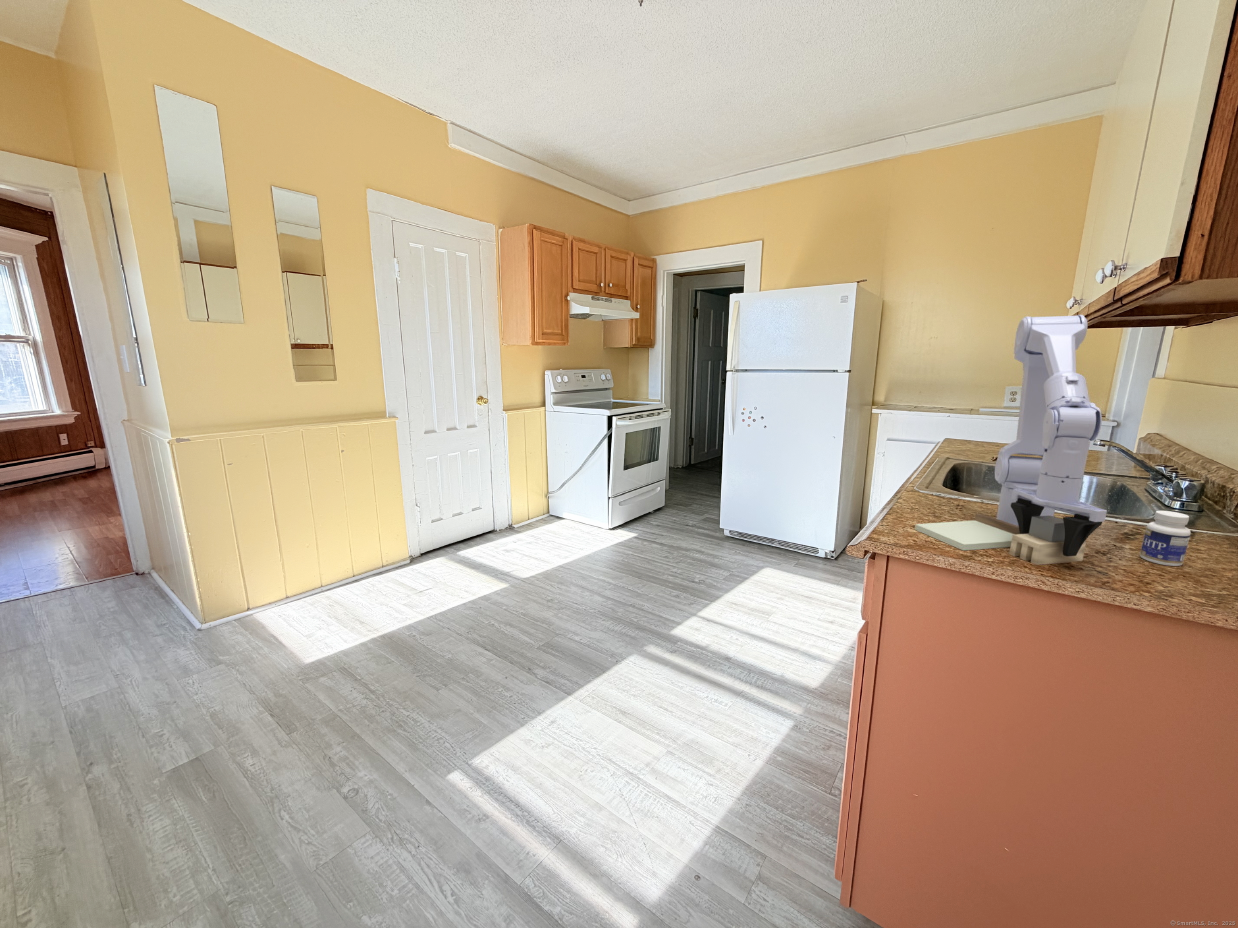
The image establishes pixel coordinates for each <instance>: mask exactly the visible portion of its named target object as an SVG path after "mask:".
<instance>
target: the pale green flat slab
mask: <svg viewBox="0 0 1238 928" xmlns="http://www.w3.org/2000/svg"><path fill="white" fill-rule="evenodd" d="M974 517H975V518H974V520H959V521H944V522H928V523H927V522H926V523H916V524H915V526H914V530H915V531H917V532H920V533H922V534H924V535H926V536H928V537H931V538H933V539H936V540H938V541H941V542H943V543H946V544H947V545H950V546H952V547H954V548H957V549H959V550H961V551H973V550H974V551H976V550H986V549H988V550H989V549H1000V548H1010V547H1011V542H1012V536H1013V535H1016V534H1020V532H1019V526H1016V525H1013V524H1010V523H1007V522H1004V521H1001V520H998V519H997V518H995V517H992V516H990V515H986V514H983V513H975V516H974Z"/></svg>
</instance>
